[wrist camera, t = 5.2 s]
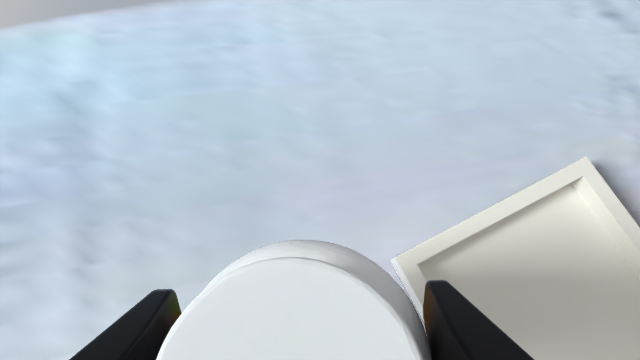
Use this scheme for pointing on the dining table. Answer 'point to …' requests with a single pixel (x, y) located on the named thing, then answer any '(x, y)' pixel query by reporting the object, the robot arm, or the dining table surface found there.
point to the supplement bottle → (299, 310)
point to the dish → (544, 267)
